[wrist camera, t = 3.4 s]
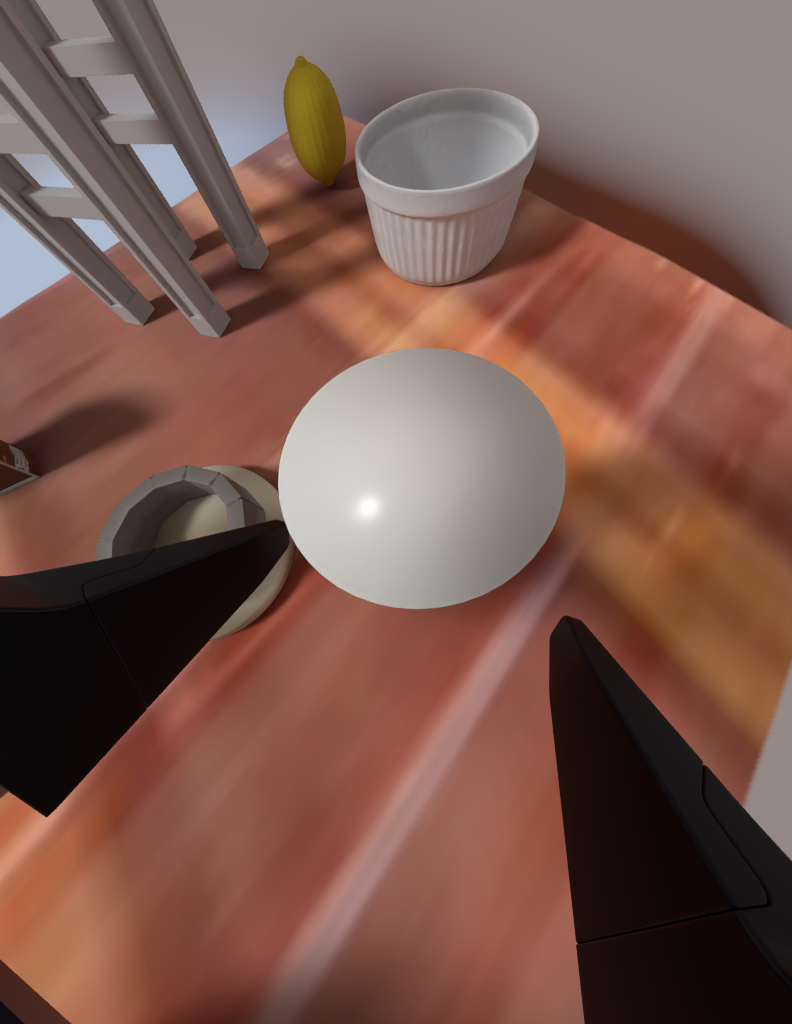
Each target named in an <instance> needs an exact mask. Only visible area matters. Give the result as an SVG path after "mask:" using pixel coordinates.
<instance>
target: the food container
mask: <svg viewBox="0 0 792 1024" xmlns="http://www.w3.org/2000/svg"><path fill="white" fill-rule="evenodd" d="M39 477H41V476H40V469H39V465H38V464H37V462H36V460H35V459H34V457H33V456H32V455H30V454H29V453H27V452H25V451H24V450H22V449H19V448H17V447H15V446H13V445H11V444H8V443H6V442H4V441H2V440H0V495H2V494H4V493H6V492H9V491H11V490H13V489H15V488H17V487H20V486H22V485H24V484H26V483H28V482H30V481H33V480H35V479H37V478H39Z"/></svg>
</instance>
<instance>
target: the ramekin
mask: <svg viewBox="0 0 792 1024" xmlns="http://www.w3.org/2000/svg"><path fill="white" fill-rule="evenodd" d="M539 134H540V126H539V122H538V119H537V117H536V115H535V113H534V112H533V111H532V109H531V108H530V107H529V106H528V105H526V104H525V103H524V102H522V101H521V100H519V99H518V98H516V97H513V96H511V95H508V94H506V93H503V92H499V91H495V90H490V89H484V88H452V89H444V90H437V91H432V92H428V93H424V94H420V95H417V96H414V97H411V98H409V99H406V100H404V101H401V102H399V103H397V104H395V105H393V106H392V107H390V108H388V109H387V110H385V111H383V112H382V113H381V114H379V115H378V116H376V117H375V118H374V119H373V120H372V121H371V122H370V123H369V124H368V125H367V126H366V127H365V128H364V129H363V131H362V132H361V134H360V136H359V138H358V140H357V143H356V147H355V161H356V168H357V175H358V180H359V184H360V186H361V188H362V190H363V192H364V194H365V199H366V204H367V208H368V212H369V217H370V221H371V225H372V229H373V233H374V237H375V241H376V245H377V248H378V251H379V253H380V255H381V258H382V259H383V261H384V262H385V264H386V265H387V266H388V267H389V268H390V269H391V270H392V271H393V272H394V273H395V274H396V275H397V276H399V277H400V278H402V279H404V280H406V281H408V282H411V283H414V284H418V285H424V286H443V285H450V284H454V283H458V282H461V281H463V280H466V279H468V278H470V277H472V276H474V275H476V274H477V273H478V272H480V271H481V270H482V269H484V268H485V267H486V266H487V265H488V264H489V263H490V262H491V261H492V260H493V258H494V257H495V256H496V255H497V254H498V252H499V251H500V249H501V248H502V246H503V243H504V241H505V239H506V237H507V234H508V231H509V228H510V225H511V222H512V219H513V216H514V213H515V210H516V207H517V203H518V200H519V197H520V194H521V191H522V188H523V184H524V181H525V177H526V176H527V175H528V173H529V171H530V169H531V167H532V164H533V162H534V159H535V154H536V150H537V144H538V140H539Z"/></svg>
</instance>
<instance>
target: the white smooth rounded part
mask: <svg viewBox="0 0 792 1024" xmlns="http://www.w3.org/2000/svg"><path fill="white" fill-rule="evenodd" d="M565 482H566V466H565V458H564V450H563V447H562V443H561V440H560V436H559V433H558V431H557V429H556V426H555V424H554V422H553V420H552V418H551V416H550V415H549V413H548V411H547V410H546V408H545V407H544V405H543V404H542V402H541V401H540V400H539V399H538V398H537V396H536V395H535V394H534V393H533V392H532V391H531V390H530V389H529V388H528V387H527V386H526V385H525V384H524V383H523V382H522V381H520V380H519V379H518V378H516V377H515V376H514V375H512V374H511V373H509V372H508V371H507V370H505V369H503V368H501V367H499V366H498V365H496V364H494V363H492V362H490V361H487V360H485V359H482V358H480V357H477V356H474V355H471V354H467V353H464V352H460V351H454V350H448V349H437V348H415V349H406V350H399V351H394V352H390V353H386V354H382V355H378V356H376V357H373V358H370V359H367V360H365V361H363V362H360V363H358V364H356V365H354V366H352V367H350V368H349V369H347V370H345V371H344V372H342V373H341V374H339V375H337V376H336V377H335V378H333V379H332V380H331V381H329V382H328V383H327V384H326V385H324V386H323V387H322V388H321V389H320V390H319V391H318V392H317V393H316V394H315V395H314V396H313V397H312V398H311V400H310V401H309V402H308V403H307V404H306V406H305V407H304V408H303V409H302V411H301V412H300V414H299V416H298V417H297V419H296V420H295V422H294V424H293V426H292V428H291V430H290V432H289V434H288V436H287V439H286V442H285V445H284V448H283V451H282V455H281V460H280V465H279V477H278V489H279V500H280V505H281V510H282V514H283V518H284V520H285V523H286V526H287V528H288V531H289V533H290V535H291V537H292V539H293V540H294V542H295V544H296V546H297V548H298V549H299V550H300V552H301V553H302V554H303V555H304V557H305V558H306V559H307V561H308V562H309V563H310V564H311V565H312V566H313V567H314V568H315V569H316V570H317V571H318V572H319V573H320V574H321V575H322V576H324V577H325V578H326V579H328V580H329V581H331V582H332V583H333V584H335V585H336V586H337V587H339V588H341V589H343V590H345V591H347V592H349V593H350V594H352V595H354V596H356V597H359V598H362V599H365V600H367V601H370V602H373V603H376V604H381V605H386V606H390V607H395V608H408V609H427V608H440V607H445V606H450V605H454V604H459V603H463V602H465V601H468V600H471V599H474V598H476V597H479V596H482V595H484V594H486V593H488V592H490V591H491V590H493V589H495V588H497V587H499V586H501V585H502V584H504V583H505V582H506V581H508V580H509V579H511V578H512V577H513V576H515V575H516V574H517V573H519V572H520V571H521V570H522V569H523V568H524V567H525V566H526V565H527V564H528V563H529V562H530V561H531V560H532V559H533V558H534V557H535V555H536V554H537V553H538V551H539V550H540V549H541V547H542V546H543V545H544V543H545V542H546V540H547V539H548V537H549V535H550V533H551V531H552V529H553V527H554V526H555V524H556V521H557V518H558V515H559V512H560V510H561V507H562V502H563V497H564V492H565Z"/></svg>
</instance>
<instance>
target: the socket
mask: <svg viewBox="0 0 792 1024" xmlns="http://www.w3.org/2000/svg"><path fill="white" fill-rule="evenodd" d="M120 504H121V505H120ZM120 504H117V506H116V508H115V510H114V511H113V513H112V515H111V517H110V519H109V520H108V522H107V524H106V526H105V528H104V529H103V531H102V533H101V535H100V537H99V538H98V539H99V540H102V541H98V542H97V551H96V561H97V560H102V559H107V558H112V557H117V556H122V555H126V554H131V553H135V552H140V551H144V550H148V549H152V548H158V547H161V546H165V545H170V544H174V543H178V542H182V541H186V540H191V539H195V538H199V537H203V536H208V535H212V534H216V533H220V532H225V531H229V530H233V529H237V528H241V527H246V526H250V525H254V524H258V523H263V522H267V521H271V520H276V519H278V520H281V521H284V522H285V520H284V518H283V514H282V510H281V505H280V500H279V491H278V490H277V489H276V488H275V487H274V486H273V485H271V484H270V483H269V482H267V481H266V480H265V479H263V478H262V477H260V476H259V475H257V474H256V473H254V472H252V471H250V470H248V469H244V468H241V467H237V466H230V465H215V466H207V467H203V468H199V467H195V466H190V465H188V466H186V465H185V466H181V467H178V468H175V469H172V470H168V471H165V472H162V473H158V474H155V475H152V478H151V477H149V478H147V479H146V480H145V481H144V482H143V483H141V484H140V485H139V486H138V487H137V488H135V489H134V490H133V491H132V492H131V493H129V494H128V495H127V496H126V497H125V498H123V499H122V500H121V501H120ZM289 538H290V543H289V546H288V548H287V550H286V551H285V552H284V554H283V555H282V557H281V558H280V559H279V561H278V562H277V563H276V565H275V566H274V567H273V569H272V570H271V571H270V573H269V574H268V575H267V577H266V578H265V579H264V581H263V582H262V583H261V584H260V585H259V587H258V588H257V589H256V590H255V591H254V592H253V593H252V594H251V595H250V596H249V598H248V599H247V600H246V601H245V602H244V603H243V604H242V605H241V606H240V607H239V609H238V610H237V611H236V612H235V613H234V614H233V615H232V616H231V617H230V618H229V619H228V621H227V622H226V623H225V624H224V625H223V626H222V627H221V628H220V629H219V630H218V632H217V633H216V634H215V635H214V636H213V637H212V638H211V639H210V640H209V641H212V640H217V639H221V638H223V637H226V636H229V635H232V634H234V633H235V632H237V631H239V630H241V629H243V628H244V627H246V626H247V625H249V624H250V623H252V622H253V621H254V620H256V619H257V618H258V617H259V616H260V615H261V614H262V613H263V612H264V611H265V610H266V609H267V608H268V607H269V606H270V605H271V604H272V602H273V601H274V599H275V598H276V597H277V595H278V594H279V592H280V591H281V589H282V587H283V585H284V584H285V582H286V579H287V577H288V575H289V572H290V570H291V566H292V563H293V560H294V554H295V548H296V544H295V542H294V540H293V539H292V537H291V535H290V533H289Z"/></svg>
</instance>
